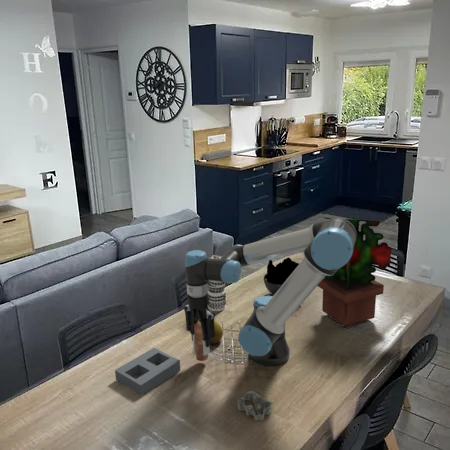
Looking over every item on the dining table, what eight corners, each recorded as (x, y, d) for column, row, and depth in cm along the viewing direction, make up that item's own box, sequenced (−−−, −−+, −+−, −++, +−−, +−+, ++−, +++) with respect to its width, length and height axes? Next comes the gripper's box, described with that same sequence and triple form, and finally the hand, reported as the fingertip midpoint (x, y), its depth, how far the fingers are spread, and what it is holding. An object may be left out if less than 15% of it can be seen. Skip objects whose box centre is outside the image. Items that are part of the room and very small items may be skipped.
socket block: (180, 370, 166) (179, 360, 165) (141, 395, 152) (140, 385, 151) (154, 356, 174) (153, 347, 173) (115, 379, 161) (114, 370, 160)
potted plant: (343, 335, 185) (348, 230, 172) (311, 313, 204) (314, 216, 192) (385, 323, 193) (393, 222, 181) (351, 302, 213) (356, 209, 200)
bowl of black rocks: (311, 293, 224) (312, 257, 219) (294, 309, 208) (295, 271, 203) (274, 284, 235) (275, 250, 229) (256, 300, 219) (255, 263, 213)
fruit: (226, 337, 186) (225, 311, 183) (216, 348, 179) (215, 321, 175) (207, 333, 190) (206, 307, 187) (197, 344, 182) (195, 317, 179)
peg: (210, 356, 169) (208, 323, 165) (202, 362, 166) (200, 327, 162) (201, 353, 172) (199, 319, 168) (193, 358, 169) (191, 324, 165)
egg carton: (233, 408, 146) (233, 397, 145) (250, 397, 151) (249, 386, 149) (258, 424, 138) (258, 413, 137) (274, 412, 143) (274, 401, 142)
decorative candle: (229, 303, 216) (228, 254, 208) (223, 312, 207) (221, 261, 200) (211, 301, 219) (209, 252, 211) (204, 310, 210) (202, 259, 203)
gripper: (173, 291, 164) (177, 348, 171) (208, 303, 153) (212, 364, 160) (187, 284, 170) (191, 339, 176) (223, 295, 159) (226, 354, 165)
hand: (201, 351), depth 168 cm, fingers closed on peg, 4 cm apart
